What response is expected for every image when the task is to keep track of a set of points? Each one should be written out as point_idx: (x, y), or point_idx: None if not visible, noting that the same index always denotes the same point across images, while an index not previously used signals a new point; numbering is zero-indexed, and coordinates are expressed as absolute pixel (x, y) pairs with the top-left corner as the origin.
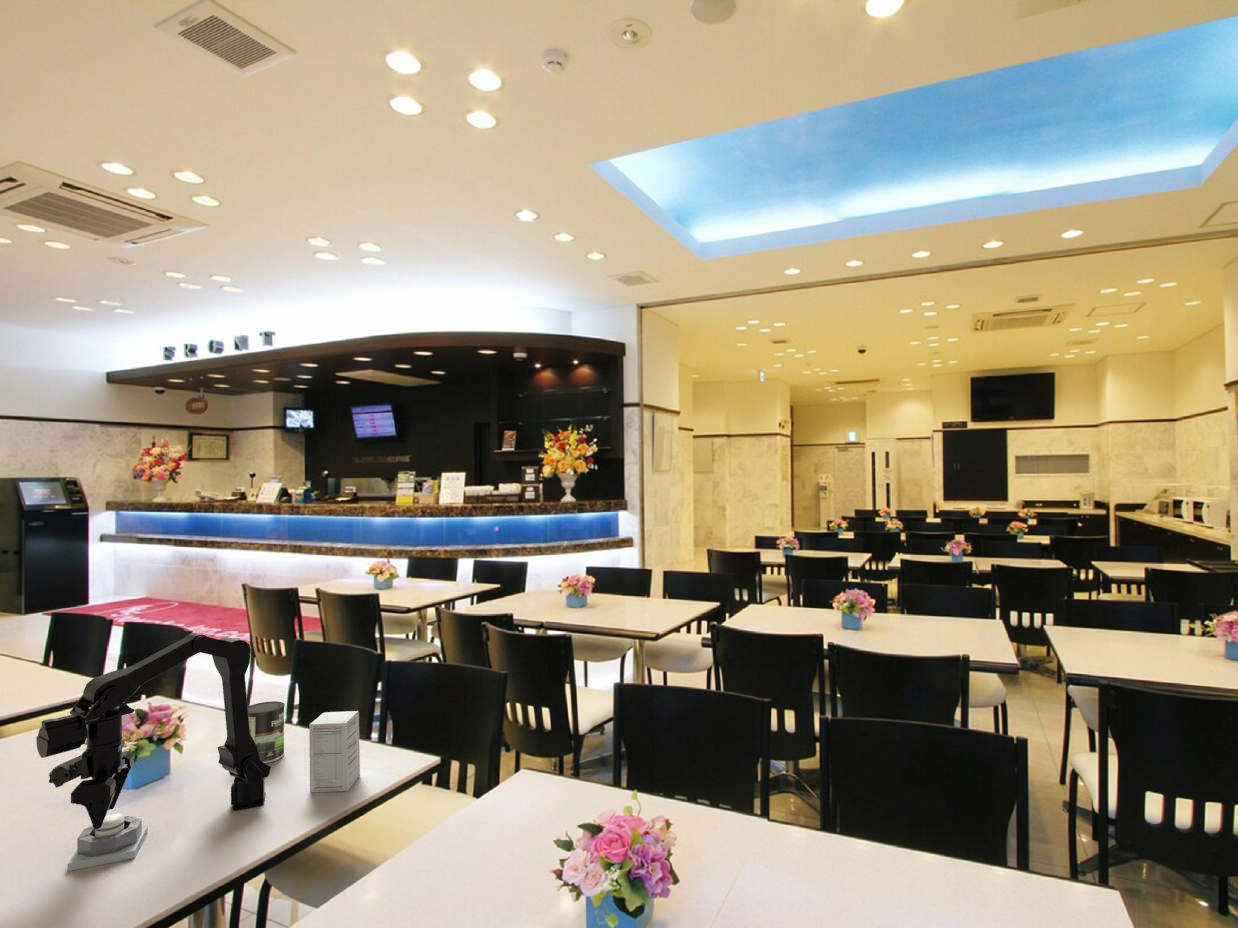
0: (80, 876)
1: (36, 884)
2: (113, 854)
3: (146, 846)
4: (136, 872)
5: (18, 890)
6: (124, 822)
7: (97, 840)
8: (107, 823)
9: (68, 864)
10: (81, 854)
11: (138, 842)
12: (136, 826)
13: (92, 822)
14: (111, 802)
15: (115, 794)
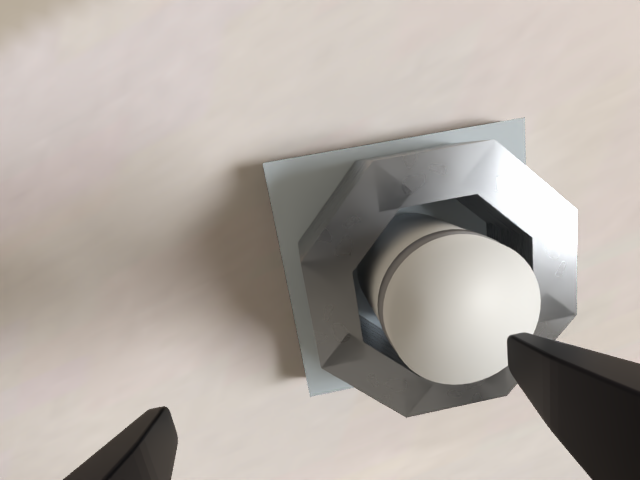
0: (205, 240)
1: (172, 79)
2: (298, 327)
3: None
4: (191, 429)
5: (130, 18)
6: None
7: (309, 290)
8: (405, 328)
9: (264, 165)
10: (337, 186)
11: None
12: (421, 408)
13: (95, 458)
14: (543, 395)
15: (613, 475)
